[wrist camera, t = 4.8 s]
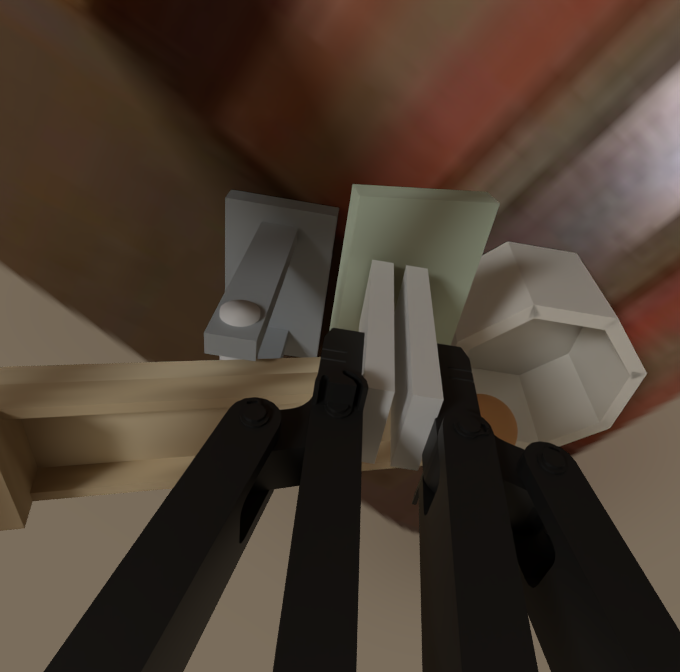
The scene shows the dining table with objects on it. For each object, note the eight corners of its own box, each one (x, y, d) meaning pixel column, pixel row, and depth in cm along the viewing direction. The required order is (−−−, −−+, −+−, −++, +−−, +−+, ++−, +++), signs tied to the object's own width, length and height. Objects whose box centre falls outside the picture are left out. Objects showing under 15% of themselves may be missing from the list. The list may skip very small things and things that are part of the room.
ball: (517, 445, 20) (443, 408, 21) (491, 493, 22) (425, 457, 23) (536, 400, 22) (468, 369, 23) (511, 448, 24) (450, 417, 25)
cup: (624, 261, 28) (677, 328, 23) (557, 384, 34) (587, 461, 28) (458, 233, 28) (473, 294, 23) (419, 361, 33) (424, 434, 28)
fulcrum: (339, 207, 28) (311, 328, 18) (318, 348, 34) (289, 493, 24) (231, 189, 27) (149, 301, 18) (229, 334, 33) (167, 473, 24)
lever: (499, 192, 18) (549, 236, 15) (418, 429, 26) (442, 485, 23) (-94, 157, 13) (-163, 211, 11) (19, 458, 21) (-6, 531, 18)
